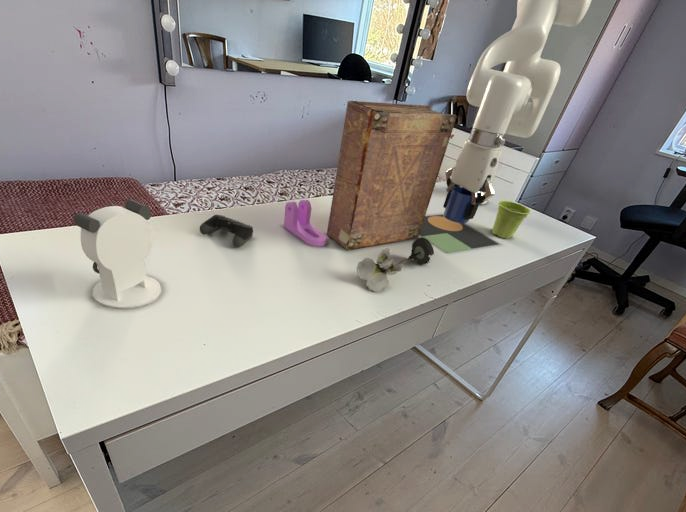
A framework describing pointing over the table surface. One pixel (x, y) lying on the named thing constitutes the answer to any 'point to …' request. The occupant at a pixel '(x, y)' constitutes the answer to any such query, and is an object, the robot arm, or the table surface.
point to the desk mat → (452, 234)
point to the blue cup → (457, 205)
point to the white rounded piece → (120, 254)
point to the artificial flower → (391, 264)
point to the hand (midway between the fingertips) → (457, 212)
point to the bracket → (302, 223)
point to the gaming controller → (228, 228)
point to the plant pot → (509, 218)
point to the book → (386, 172)
